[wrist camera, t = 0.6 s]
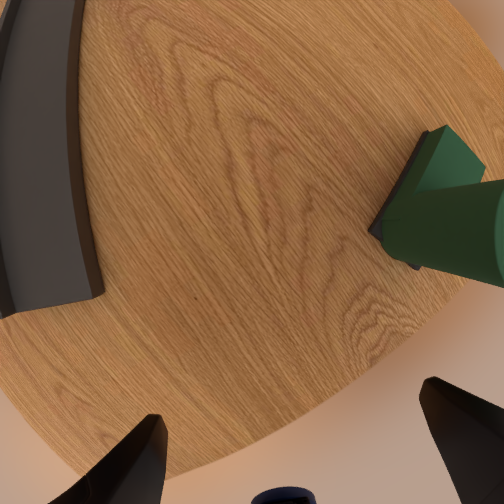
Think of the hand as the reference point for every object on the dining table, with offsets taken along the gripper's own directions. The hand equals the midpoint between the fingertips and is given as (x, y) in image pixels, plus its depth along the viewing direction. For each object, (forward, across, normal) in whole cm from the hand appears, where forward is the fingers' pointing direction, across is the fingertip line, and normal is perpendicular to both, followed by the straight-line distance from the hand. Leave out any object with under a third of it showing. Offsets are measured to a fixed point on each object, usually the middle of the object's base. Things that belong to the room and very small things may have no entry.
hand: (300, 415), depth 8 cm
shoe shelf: (+18, +20, -20) cm, 34 cm away
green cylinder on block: (+15, -13, -4) cm, 20 cm away
